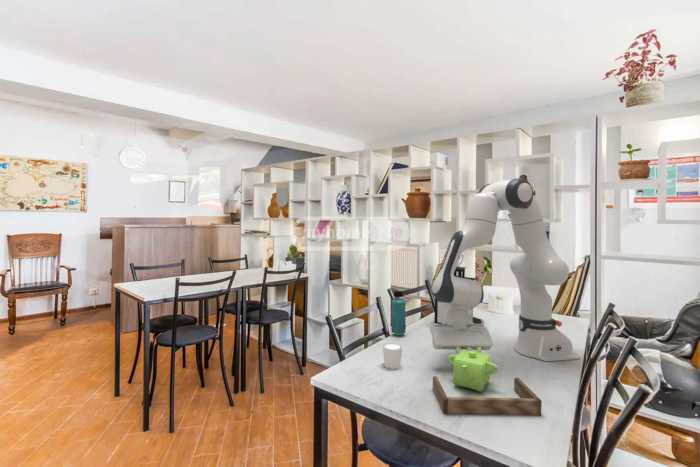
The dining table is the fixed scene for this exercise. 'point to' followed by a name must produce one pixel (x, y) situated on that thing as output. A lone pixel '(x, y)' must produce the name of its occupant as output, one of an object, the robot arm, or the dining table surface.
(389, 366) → the white cylinder
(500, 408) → the frame
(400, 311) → the beverage bottle
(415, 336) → the dining table surface
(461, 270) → the lantern
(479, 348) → the teapot
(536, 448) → the dining table surface
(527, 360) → the dining table surface
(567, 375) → the dining table surface
